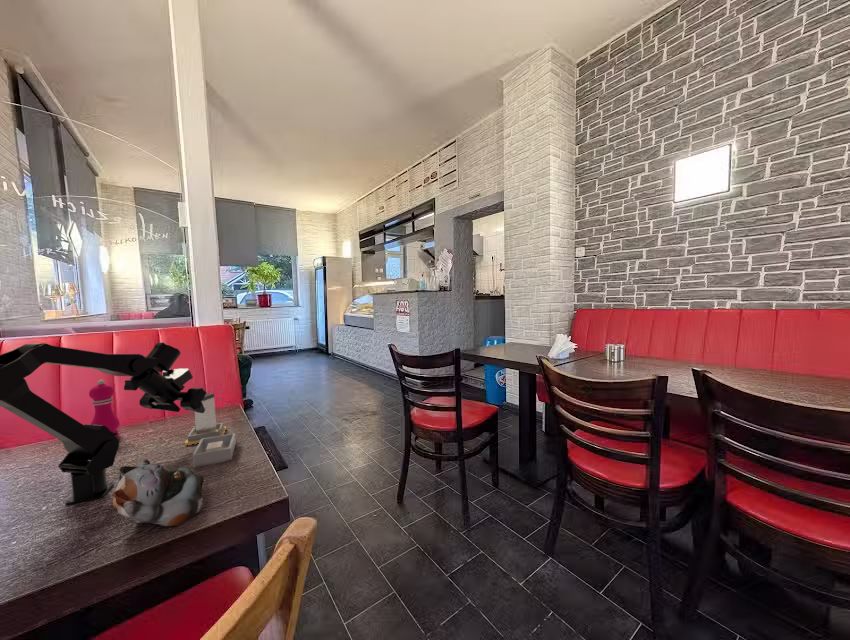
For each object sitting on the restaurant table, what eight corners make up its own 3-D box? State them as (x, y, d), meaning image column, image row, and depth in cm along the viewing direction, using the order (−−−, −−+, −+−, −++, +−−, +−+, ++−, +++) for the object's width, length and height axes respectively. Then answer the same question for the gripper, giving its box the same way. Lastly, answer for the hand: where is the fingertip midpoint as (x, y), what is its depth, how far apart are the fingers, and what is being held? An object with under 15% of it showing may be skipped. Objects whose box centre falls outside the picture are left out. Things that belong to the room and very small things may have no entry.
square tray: (222, 439, 109) (221, 431, 109) (185, 445, 105) (184, 437, 105) (226, 429, 118) (225, 421, 118) (192, 434, 114) (191, 426, 114)
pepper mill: (117, 432, 117) (112, 376, 116) (123, 437, 113) (118, 378, 112) (88, 440, 112) (82, 380, 110) (93, 445, 107) (87, 383, 106)
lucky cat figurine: (200, 522, 68) (154, 480, 61) (136, 559, 65) (81, 518, 58) (211, 469, 80) (174, 429, 74) (158, 497, 77) (114, 459, 71)
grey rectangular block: (206, 436, 109) (203, 397, 108) (196, 436, 110) (193, 396, 109) (216, 431, 113) (214, 393, 112) (206, 431, 114) (203, 393, 113)
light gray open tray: (231, 460, 94) (230, 447, 94) (193, 467, 91) (192, 454, 90) (236, 443, 105) (235, 432, 105) (202, 450, 101) (201, 438, 101)
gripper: (199, 361, 98) (230, 389, 109) (146, 361, 102) (181, 388, 113) (176, 395, 91) (211, 421, 102) (120, 393, 94) (160, 419, 106)
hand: (191, 411), depth 106 cm, fingers open, 9 cm apart
